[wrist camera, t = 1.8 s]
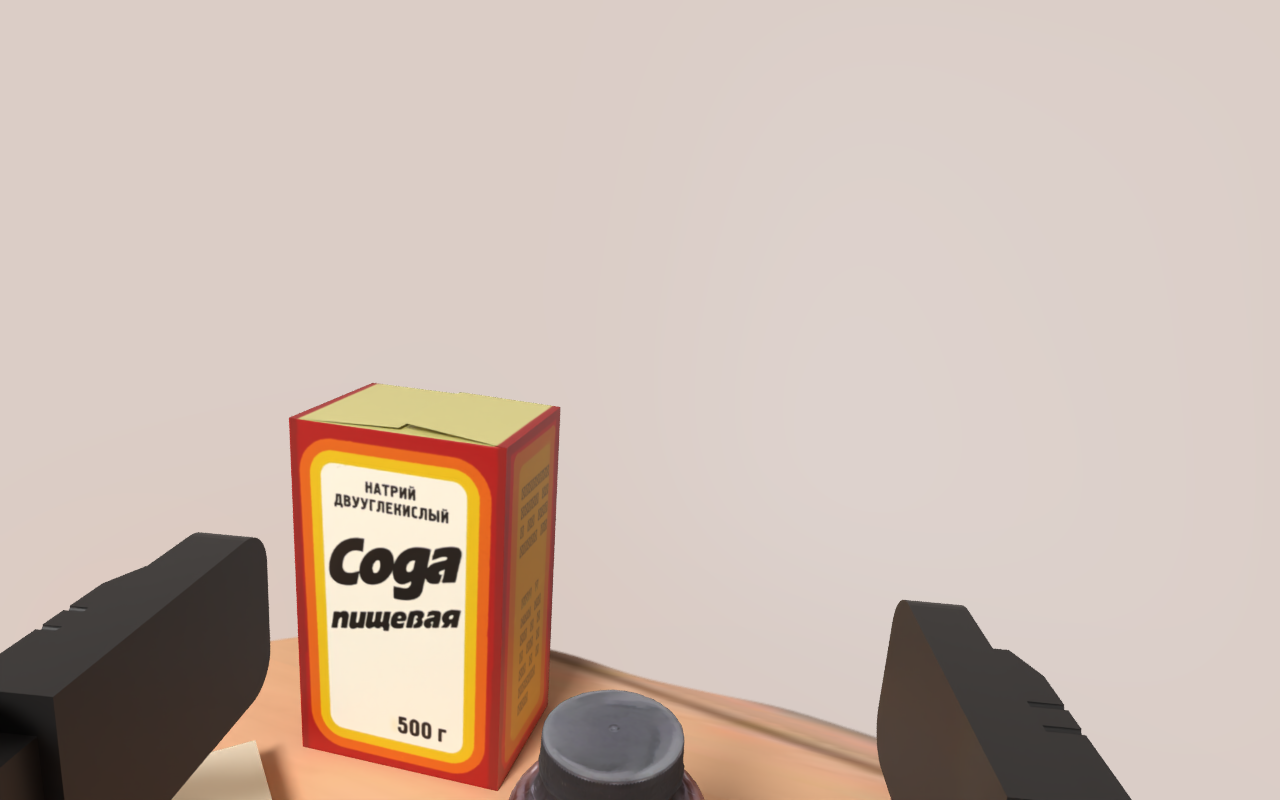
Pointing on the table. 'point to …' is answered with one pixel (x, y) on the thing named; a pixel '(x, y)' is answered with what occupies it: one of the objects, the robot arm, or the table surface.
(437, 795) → the table surface
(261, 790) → the birch board
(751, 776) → the table surface
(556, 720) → the supplement bottle
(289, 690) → the table surface
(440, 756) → the baking soda box
